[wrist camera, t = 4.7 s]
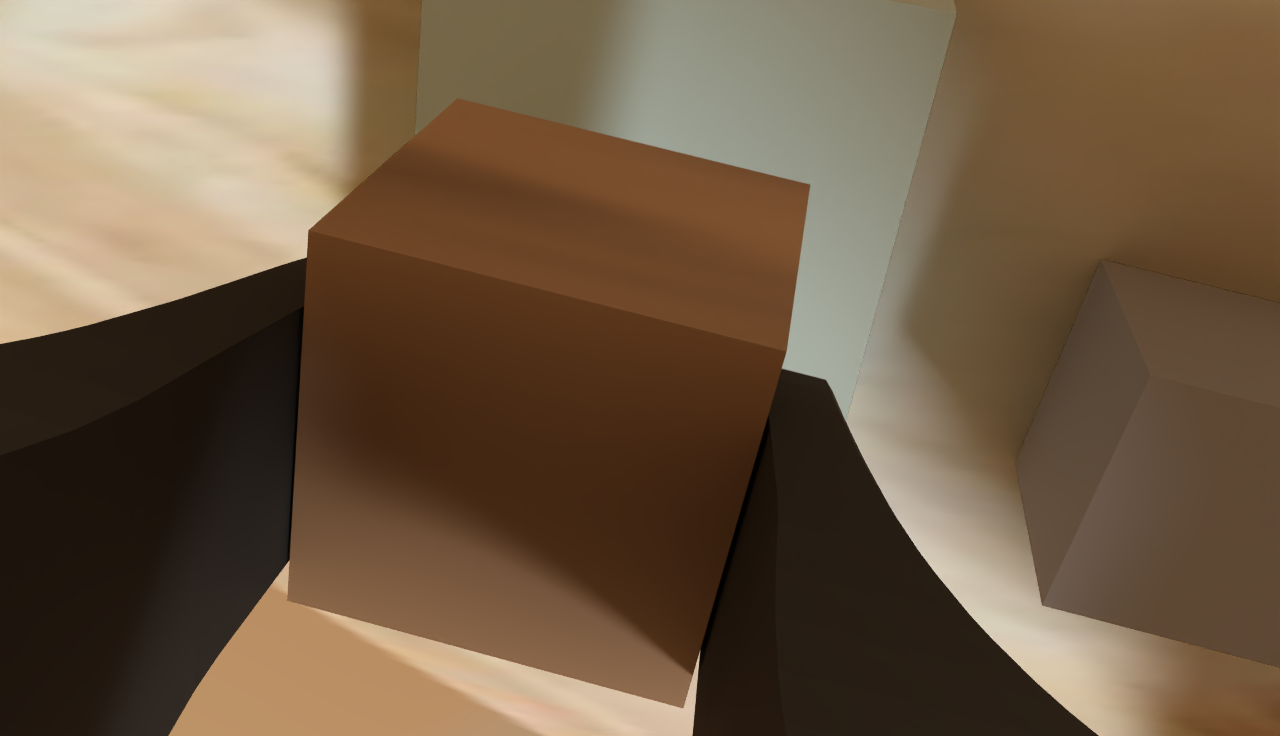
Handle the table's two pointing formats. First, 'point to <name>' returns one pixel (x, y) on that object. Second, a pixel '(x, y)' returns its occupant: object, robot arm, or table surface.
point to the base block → (730, 113)
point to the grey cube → (1162, 464)
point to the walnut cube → (539, 393)
